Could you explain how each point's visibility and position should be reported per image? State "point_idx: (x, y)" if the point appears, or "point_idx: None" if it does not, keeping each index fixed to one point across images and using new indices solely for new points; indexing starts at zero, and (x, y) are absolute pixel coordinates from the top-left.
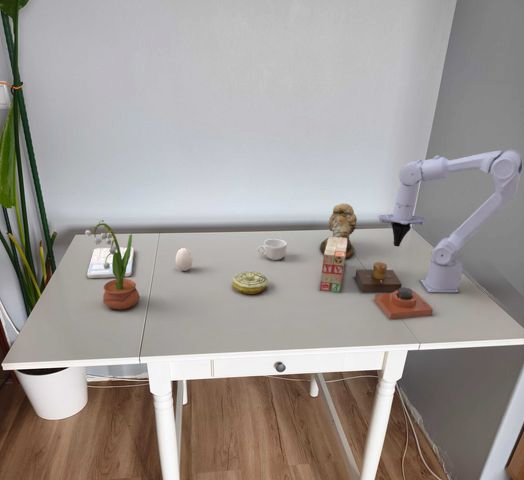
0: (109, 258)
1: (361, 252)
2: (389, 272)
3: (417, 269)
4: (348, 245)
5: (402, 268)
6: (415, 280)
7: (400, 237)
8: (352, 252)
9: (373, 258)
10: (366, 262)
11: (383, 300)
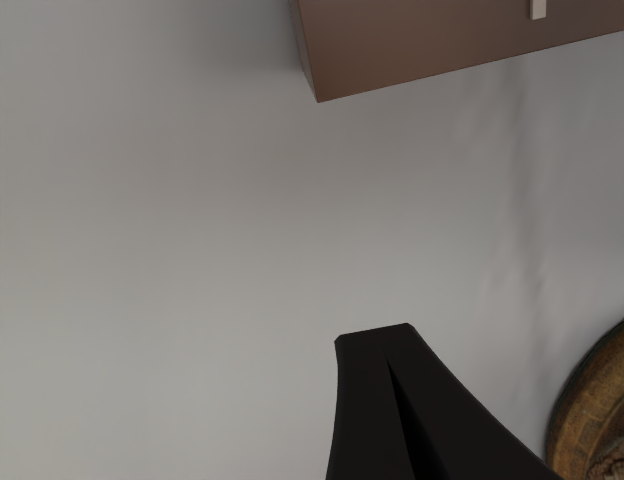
0: None
1: None
2: (367, 11)
3: (50, 313)
4: (621, 458)
5: (188, 295)
6: (40, 79)
7: (406, 472)
8: (584, 400)
9: None
10: (484, 315)
11: None
